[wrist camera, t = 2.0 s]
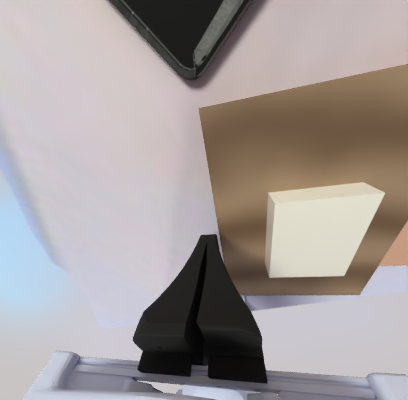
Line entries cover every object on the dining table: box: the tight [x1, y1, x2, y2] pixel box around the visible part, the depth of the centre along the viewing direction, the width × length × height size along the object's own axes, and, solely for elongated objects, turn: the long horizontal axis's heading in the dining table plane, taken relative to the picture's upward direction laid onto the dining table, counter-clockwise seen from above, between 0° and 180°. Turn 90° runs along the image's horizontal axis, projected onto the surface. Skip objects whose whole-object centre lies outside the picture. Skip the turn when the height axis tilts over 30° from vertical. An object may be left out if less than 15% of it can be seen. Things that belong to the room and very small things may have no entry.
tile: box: [265, 182, 385, 278], centre depth 12 cm, size 8×6×2 cm
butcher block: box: [199, 64, 408, 295], centre depth 13 cm, size 20×14×2 cm
